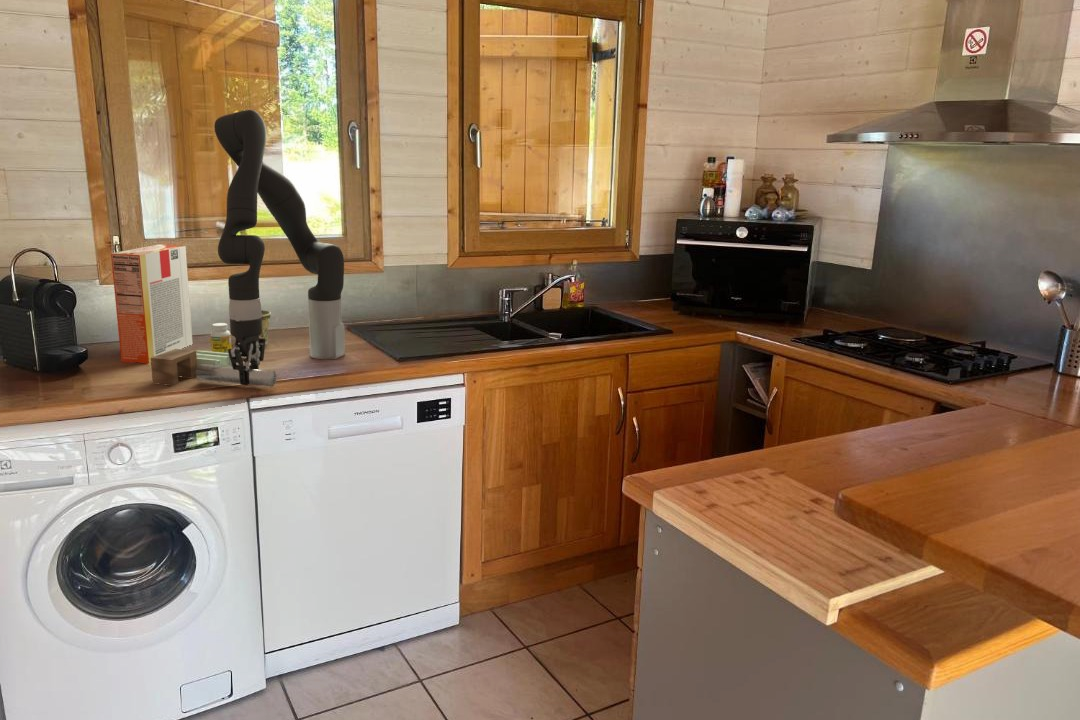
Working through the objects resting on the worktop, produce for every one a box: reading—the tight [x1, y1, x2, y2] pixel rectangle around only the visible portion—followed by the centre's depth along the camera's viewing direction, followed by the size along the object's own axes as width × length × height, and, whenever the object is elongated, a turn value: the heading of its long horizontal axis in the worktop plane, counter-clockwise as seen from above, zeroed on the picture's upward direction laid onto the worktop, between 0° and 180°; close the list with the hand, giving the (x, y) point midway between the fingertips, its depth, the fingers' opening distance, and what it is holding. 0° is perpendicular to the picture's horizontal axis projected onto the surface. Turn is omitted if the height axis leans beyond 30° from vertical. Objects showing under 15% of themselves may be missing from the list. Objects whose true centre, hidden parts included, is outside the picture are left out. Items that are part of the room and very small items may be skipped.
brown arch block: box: [150, 349, 197, 386], centre depth 201 cm, size 6×10×7 cm, turn 169°
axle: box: [195, 364, 278, 388], centre depth 198 cm, size 20×4×4 cm, turn 79°
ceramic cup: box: [259, 309, 272, 346], centre depth 240 cm, size 13×10×10 cm
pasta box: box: [110, 243, 193, 364], centre depth 223 cm, size 23×8×30 cm, turn 175°
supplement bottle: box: [210, 322, 233, 353], centre depth 224 cm, size 5×5×10 cm
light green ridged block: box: [196, 350, 232, 367], centre depth 212 cm, size 10×8×4 cm
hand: (249, 381), depth 198 cm, fingers closed on axle, 4 cm apart
